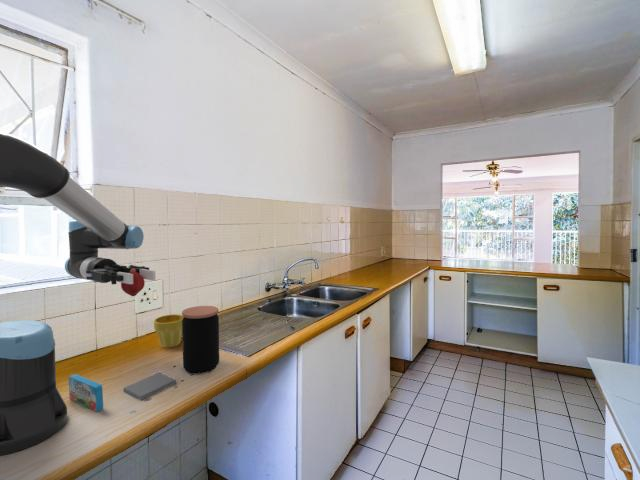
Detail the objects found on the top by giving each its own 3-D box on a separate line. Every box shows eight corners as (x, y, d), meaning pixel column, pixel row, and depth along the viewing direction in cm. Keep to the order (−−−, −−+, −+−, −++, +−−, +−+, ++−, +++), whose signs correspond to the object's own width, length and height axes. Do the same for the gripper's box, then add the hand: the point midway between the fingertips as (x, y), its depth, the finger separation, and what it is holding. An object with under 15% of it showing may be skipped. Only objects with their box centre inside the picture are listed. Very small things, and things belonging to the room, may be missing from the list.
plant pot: (158, 352, 111) (157, 324, 110) (151, 343, 119) (151, 317, 118) (189, 345, 117) (188, 319, 116) (181, 337, 125) (180, 312, 124)
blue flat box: (103, 409, 78) (102, 385, 78) (96, 412, 77) (95, 387, 76) (76, 396, 84) (75, 373, 83) (69, 399, 82) (68, 376, 82)
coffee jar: (199, 357, 107) (198, 304, 106) (226, 362, 104) (225, 307, 103) (175, 371, 97) (173, 313, 96) (204, 377, 94) (203, 317, 93)
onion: (134, 299, 89) (133, 270, 88) (116, 298, 90) (115, 269, 89) (149, 294, 94) (148, 267, 94) (132, 293, 96) (131, 266, 95)
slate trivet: (140, 400, 82) (140, 396, 82) (123, 391, 86) (123, 387, 86) (175, 383, 91) (175, 379, 91) (158, 375, 95) (158, 372, 95)
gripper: (130, 277, 109) (173, 284, 97) (65, 287, 93) (107, 297, 81) (129, 255, 109) (173, 260, 97) (64, 261, 92) (106, 268, 81)
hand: (143, 277), depth 89 cm, fingers closed on onion, 6 cm apart
